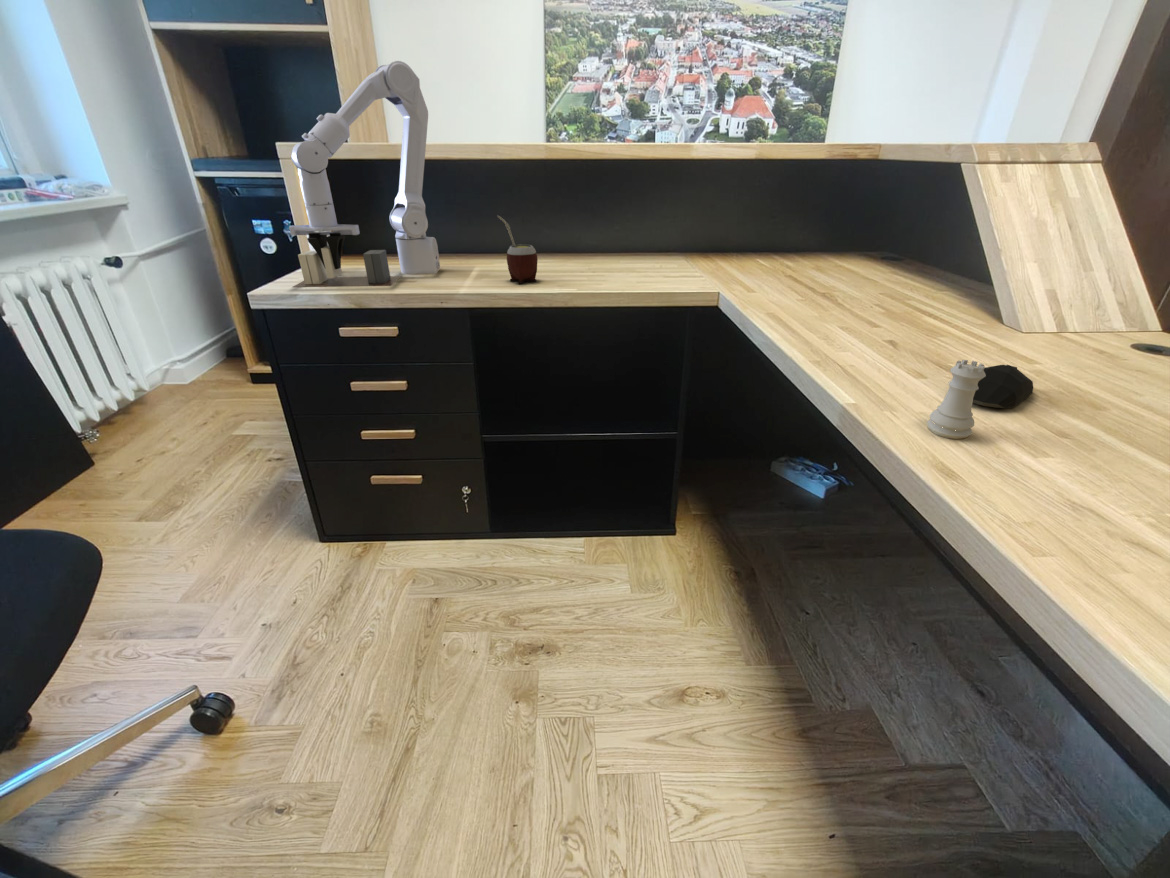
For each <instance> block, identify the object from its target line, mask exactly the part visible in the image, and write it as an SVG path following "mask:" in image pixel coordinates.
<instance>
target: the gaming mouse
mask: <svg viewBox="0 0 1170 878" xmlns="http://www.w3.org/2000/svg"><path fill="white" fill-rule="evenodd" d="M984 372H985V374H986V376H985V377H984V378H982V379H981V380H979V382H978V388H979V389H978V390H976V391H975V394H974V397H973V402H972V404H975V405H979V406H982V407H988V408H996V409H1010V408H1011V409H1012V408H1014V407H1016V406H1019V405H1020V404H1021V403H1022V402H1023V401H1024V400H1026V399H1027V398H1029V397H1030V396H1031V395H1032V394H1033V391H1034V382H1033V380H1032V379H1030V378H1029V377H1028V376H1027V375H1025V374H1024V373H1023V372H1022V371H1021V370H1019V369H1018V367H1017V366H1014V365H1010V364H998V365H991V366H986V367H985V366H984Z"/></svg>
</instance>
